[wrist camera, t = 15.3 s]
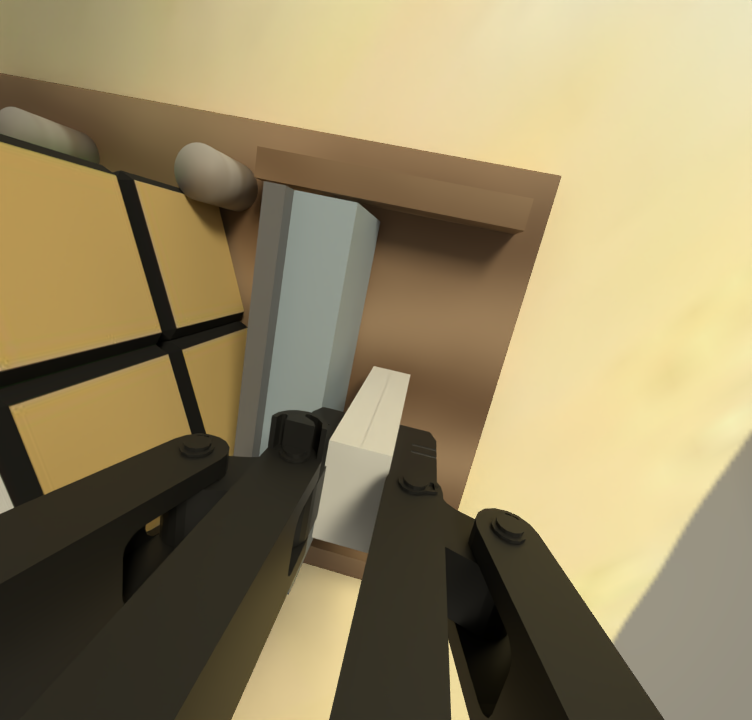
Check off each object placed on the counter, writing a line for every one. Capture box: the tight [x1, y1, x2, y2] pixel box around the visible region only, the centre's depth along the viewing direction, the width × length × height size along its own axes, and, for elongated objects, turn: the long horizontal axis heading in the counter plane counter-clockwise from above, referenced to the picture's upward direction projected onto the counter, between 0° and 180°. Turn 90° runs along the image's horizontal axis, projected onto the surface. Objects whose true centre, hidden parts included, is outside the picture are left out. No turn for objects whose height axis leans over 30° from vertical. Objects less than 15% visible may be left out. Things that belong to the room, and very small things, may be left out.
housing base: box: [0, 73, 561, 580], centre depth 16 cm, size 18×24×4 cm
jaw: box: [233, 181, 380, 595], centre depth 14 cm, size 14×2×5 cm, turn 168°
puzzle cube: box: [0, 134, 248, 532], centre depth 12 cm, size 10×10×10 cm
